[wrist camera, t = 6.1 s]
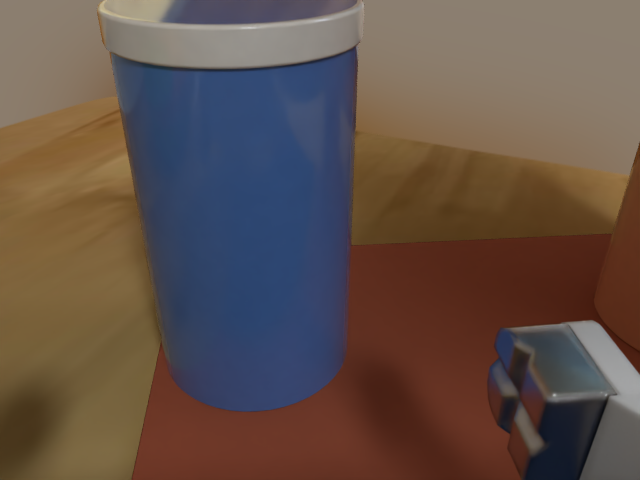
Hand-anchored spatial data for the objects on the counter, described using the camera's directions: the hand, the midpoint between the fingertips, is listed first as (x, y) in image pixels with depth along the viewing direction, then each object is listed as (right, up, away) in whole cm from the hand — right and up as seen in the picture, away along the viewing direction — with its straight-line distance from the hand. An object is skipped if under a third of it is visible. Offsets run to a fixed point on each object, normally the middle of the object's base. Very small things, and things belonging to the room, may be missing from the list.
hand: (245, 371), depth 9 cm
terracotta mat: (+6, -1, +10) cm, 11 cm away
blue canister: (-1, -1, +9) cm, 9 cm away
